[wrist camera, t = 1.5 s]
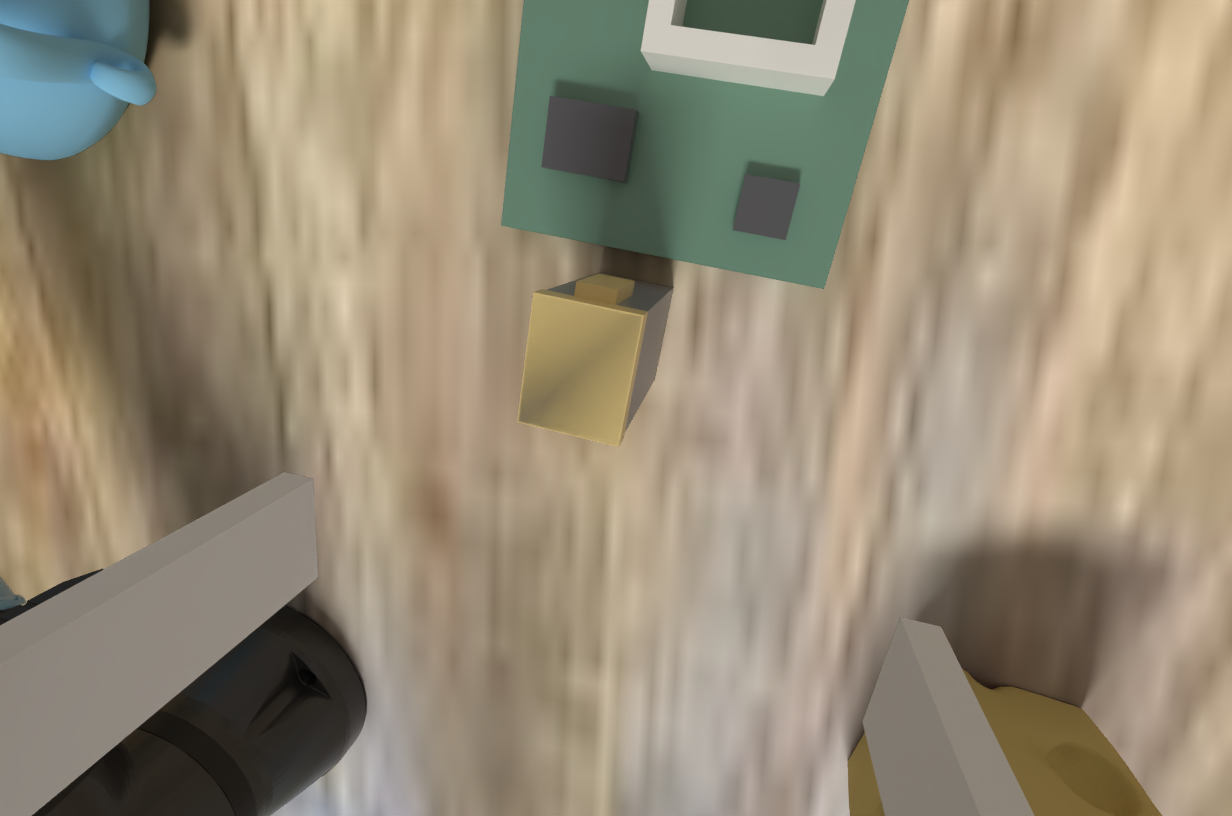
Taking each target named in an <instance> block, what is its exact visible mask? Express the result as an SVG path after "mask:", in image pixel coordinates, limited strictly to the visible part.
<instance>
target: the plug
mask: <svg viewBox="0 0 1232 816" xmlns="http://www.w3.org/2000/svg"><path fill="white" fill-rule="evenodd" d="M672 293H673V288H672V287H667V286H662V285H658V284H653V283H648V282H643V281H638V280H633V279H628V278H623V277H618V276H613V275H608V274H603V273H596V274H593V275H590V276H587V277H584V278H581V279H578V280H575V281H572V282H569V283H566V284H563V285H560V286H557V287H554V288H551V289H548V290H543V289H542V290H539V291H536V292H533V300H532V308H531V316H530V325H529V333H528V341H527V349H526V357H525V365H524V373H523V381H522V389H521V397H520V405H519V413H518V422H519V423H523V424H528V425H532V426H536V427H540V428H544V429H548V430H552V431H556V432H560V433H564V434H568V435H572V436H576V437H580V438H584V439H588V440H592V441H597V442H601V443H605V444H609V445H613V446H617V447H619V445H620V444H621V442H622V440H623V438H624V434H625V431H626V430H627V428H628V426H629V424H630V422H631V421H632V419H633V417H634V415H635V414H636V412H637V410H638V408H639V406H640V405H641V403H642V401H643V399H644V398H645V396H646V394H647V392H648V390H649V389H650V387H651V385H652V383H653V382H654V380H655V375H656V371H657V366H658V361H659V356H660V351H661V346H662V341H663V337H664V332H665V327H666V322H667V317H668V312H669V307H670V303H671V298H672Z"/></svg>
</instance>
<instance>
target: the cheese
mask: <svg viewBox="0 0 1232 816" xmlns="http://www.w3.org/2000/svg"><path fill="white" fill-rule="evenodd" d="M962 670H963V672H964V674H965V676H966V678H967V680H968V682H969V684H970V686H971V688H972V690H973V692H974V694H975V696H976V698H977V700H978V702H979V704H980V706H981V708H982V710H983V712H984V715H985V717H986V719H987V721H988V723H989V725H990V727H991V729H992V731H993V733H994V735H995V737H996V739H997V741H998V743H999V745H1000V747H1001V749H1002V751H1003V753H1004V755H1005V757H1006V759H1007V761H1008V763H1009V765H1010V767H1011V769H1012V771H1013V773H1014V775H1015V777H1016V779H1017V781H1018V783H1019V785H1020V787H1021V789H1022V791H1023V793H1024V795H1025V797H1026V799H1027V801H1028V804H1029V806H1030V808H1031V810H1032V812H1033V814H1034V816H1162V815H1161V813H1160V812H1159V811H1158V809H1157V808H1156V807H1155V805H1154V804H1153V803H1152V801H1151V800H1150V798H1149V797H1148V795H1147V794H1146V792H1145V791H1144V789H1143V788H1142V786H1141V785H1140V783H1139V782H1138V781H1137V779H1136V778H1135V776H1134V775H1133V773H1132V772H1131V770H1130V769H1129V767H1128V766H1127V765H1126V763H1125V762H1124V761H1123V759H1122V758H1121V757H1120V755H1119V754H1118V753H1117V751H1116V750H1115V748H1114V747H1113V746H1112V745H1111V743H1110V742H1109V741H1108V740H1107V738H1106V737H1105V736H1104V735H1103V734H1102V732H1101V731H1100V730H1099V729H1098V727H1097V726H1096V725H1095V724H1094V722H1093V721H1092V720H1091V719H1090V718H1089V716H1088V715H1087V714H1086V713H1085V712H1084V711H1083V710H1082V709H1081V708H1079V707H1076V706H1073V705H1070V704H1067V703H1064V702H1060V701H1057V700H1054V699H1051V698H1048V697H1045V696H1042V695H1038V694H1035V693H1032V692H1029V691H1026V690H1022V689H1019V688H1015V687H1011V686H1010V687H997V688H995V689H992V690H991V689H988V688H986V687H984V686H982V685H981V684H979V683H978V682H977V681H975V680H974V679H973V678H972V677H971V675H970V674H969V673H968V672H967V671H966V670H964V669H962ZM848 788H849V809H850V816H885V814H884V809H883V805H882V801H881V797H880V793H879V789H878V785H877V780H876V776H875V772H874V768H873V764H872V760H871V756H870V751H869V747H868V743H867V739H866V735H865V732H864V734H863V736H862V738H861V740H860V741H859V743H858V745H857V746H856V748H855V750H854V752H853V753H852V755H851V757H850V759H849V761H848Z"/></svg>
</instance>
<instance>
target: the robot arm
mask: <svg viewBox="0 0 1232 816" xmlns="http://www.w3.org/2000/svg"><path fill="white" fill-rule="evenodd" d="M317 578H318V565H317V545H316V525H315V505H314V484H313V479H312V478H308V477H303V476H299V475H295V474H291V473H286V472H284V473H282V474H280V475H278V476H276V477H274V478H272V479H271V480H269V481H267V482H265V483H263V484H261V485H259V486H258V487H256V488H254V489H252V490H250V491H248V492H246V493H245V494H243V495H241V496H239V497H237V498H235V499H234V500H232V501H230V502H228V503H226V504H224V505H222V506H221V507H219V508H217V509H215V510H213V511H211V512H209V513H208V514H206V515H204V516H202V517H200V518H198V519H197V520H195V521H193V522H191V523H189V524H187V525H185V526H184V527H182V528H180V529H178V530H176V531H174V532H172V533H171V534H169V535H167V536H165V537H163V538H161V539H159V540H158V541H156V542H154V543H152V544H150V545H148V546H147V547H145V548H143V549H141V550H139V551H137V552H135V553H134V554H132V555H130V556H128V557H126V558H124V559H122V560H121V561H119V562H117V563H115V564H113V565H111V566H109V567H108V568H106V569H100V570H97V571H94V572H91V573H88V574H86V575H83V576H80V577H77V578H74V579H71V580H68V581H65V582H62V583H60V584H58V585H57V586H55V587H53V588H51V589H49V590H47V591H45V592H43V593H41V594H39V595H38V596H36V597H34V598H32V599H30V600H28V601H27V603H26V601H25V599H24V597H23V596H21V595H15V594H14V593H13V592H12V590H11V589H10V588H9V587H8V585H7V584H6V583H5V582H4V580H3V579H2V578H1V577H0V816H270V815H272V814H273V813H274V812H276V811H277V810H278V809H280V808H281V807H282V806H284V805H285V804H286V803H288V802H289V801H290V800H292V799H293V798H294V797H296V796H297V795H298V794H300V793H301V792H302V791H304V790H305V789H306V788H307V787H309V786H310V785H311V784H312V783H314V782H315V781H316V780H318V779H319V778H320V777H322V776H323V775H325V774H326V773H327V772H329V771H330V770H331V769H332V768H333V767H334V766H335V765H336V764H337V763H338V762H339V761H340V760H341V759H342V757H343V756H344V755H345V753H346V752H347V751H348V749H349V748H350V747H351V745H352V744H353V743H354V741H355V740H356V739H357V737H358V736H359V734H360V732H361V730H362V727H363V724H364V720H365V712H366V706H365V697H364V692H363V688H362V685H361V682H360V680H359V677H358V675H357V673H356V671H355V669H354V667H353V665H352V664H351V662H350V660H349V659H348V657H347V656H346V655H345V653H344V652H343V650H342V649H341V648H340V647H339V646H338V644H337V643H336V642H335V641H334V640H333V639H332V638H331V637H330V636H329V635H328V634H327V633H326V632H325V631H323V630H322V629H321V628H320V627H319V626H317V625H316V624H315V623H313V622H312V621H310V620H309V619H308V618H306V617H304V616H303V615H301V614H299V613H297V612H296V611H294V610H292V609H289V608H287V607H285V606H284V605H286V604H287V603H288V602H289V601H290V600H292V599H293V598H294V597H295V596H296V595H298V594H299V593H300V592H301V591H302V590H304V589H305V588H306V587H307V586H308V585H310V584H311V583H312V582H313V581H314V580H316V579H317ZM25 603H26V604H25ZM21 604H25V605H24V606H22V605H21ZM862 722H863V727H864V731H865V735H866V739H867V743H868V747H869V751H870V756H871V760H872V764H873V768H874V772H875V776H876V780H877V785H878V789H879V793H880V797H881V801H882V805H883V809H884V814H885V816H1034V814H1033V812H1032V810H1031V808H1030V806H1029V804H1028V801H1027V799H1026V797H1025V795H1024V793H1023V791H1022V789H1021V787H1020V785H1019V783H1018V781H1017V779H1016V777H1015V775H1014V773H1013V771H1012V769H1011V767H1010V765H1009V763H1008V761H1007V759H1006V757H1005V755H1004V753H1003V751H1002V749H1001V747H1000V745H999V743H998V741H997V739H996V737H995V735H994V733H993V731H992V729H991V727H990V725H989V723H988V721H987V719H986V717H985V715H984V712H983V710H982V708H981V706H980V704H979V702H978V700H977V698H976V696H975V694H974V692H973V690H972V688H971V686H970V684H969V682H968V680H967V678H966V676H965V674H964V672H963V670H962V668H961V666H960V664H959V662H958V660H957V658H956V656H955V654H954V652H953V650H952V648H951V646H950V644H949V642H948V640H947V638H946V636H945V634H944V632H943V630H942V628H941V627H940V626H936V625H932V624H928V623H923V622H919V621H915V620H911V619H906V618H902V617H900V619H899V622H898V625H897V627H896V630H895V633H894V636H893V638H892V641H891V644H890V647H889V650H888V652H887V655H886V658H885V661H884V663H883V666H882V669H881V672H880V674H879V677H878V680H877V683H876V685H875V688H874V691H873V694H872V696H871V699H870V702H869V705H868V707H867V710H866V713H865V716H864V718H863V721H862Z"/></svg>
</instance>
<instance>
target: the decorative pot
mask: <svg viewBox="0 0 1232 816" xmlns="http://www.w3.org/2000/svg"><path fill="white" fill-rule="evenodd" d="M149 14H150V5H149V0H0V153H2V154H7V155H11V156H16V157H21V158H29V159H37V160H57V159H62V158H66V157H70V156H73V155H76V154H78V153H80V152H82V151H84V150H85V149H87V148H88V147H90V146H92V145H93V144H95V143H96V142H98V141H99V140H101V139H102V138H103V137H104V136H105V135H106V134H107V133H109V131H110V130H111V129H112V128H113V127H114V126H115V125H116V123H117V122H118V121H119V119H120V117H121V116H122V114H123V113H124V111H125V110H126V108H127V106H128V104H129V103H132V104H136V105H145V104H147V103H148V102H150V100H151V99H152V98H153V97H154V95H155V93H156V83H155V79H154V76H153V74H152V73H151V71H150V70H149V68H148V67H147V66H146V65H145V64H144V60H145V55H146V50H147V42H148V33H149Z"/></svg>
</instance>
